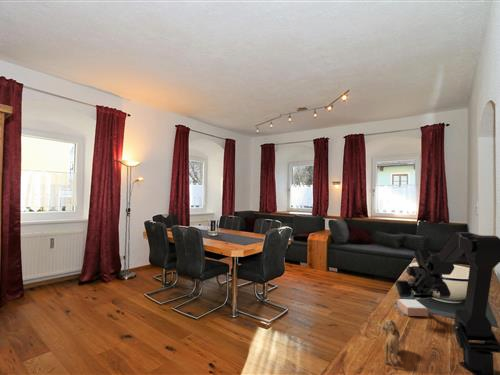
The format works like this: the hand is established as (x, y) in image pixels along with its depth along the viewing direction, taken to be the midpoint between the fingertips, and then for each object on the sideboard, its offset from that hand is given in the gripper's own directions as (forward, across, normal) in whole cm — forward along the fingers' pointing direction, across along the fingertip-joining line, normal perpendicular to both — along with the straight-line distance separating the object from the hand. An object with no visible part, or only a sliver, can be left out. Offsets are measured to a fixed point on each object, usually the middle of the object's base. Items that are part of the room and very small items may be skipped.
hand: (415, 298), depth 117 cm
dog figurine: (-17, +22, +27) cm, 39 cm away
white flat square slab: (+9, 0, +2) cm, 9 cm away
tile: (+3, 0, +5) cm, 5 cm away
